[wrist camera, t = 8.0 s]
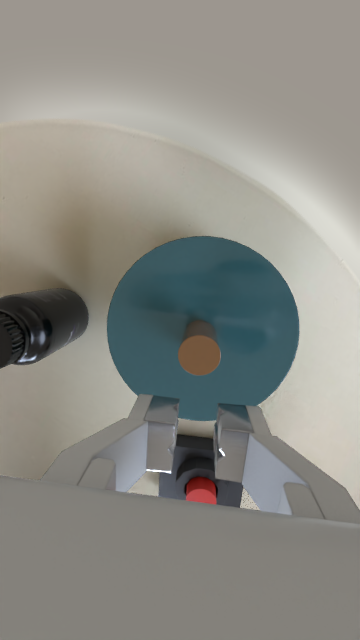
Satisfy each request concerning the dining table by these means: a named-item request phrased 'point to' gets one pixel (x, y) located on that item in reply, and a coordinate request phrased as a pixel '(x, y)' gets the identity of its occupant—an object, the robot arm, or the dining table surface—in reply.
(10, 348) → the supplement bottle
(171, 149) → the dining table surface
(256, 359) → the jar lid
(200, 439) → the box
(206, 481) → the release button
